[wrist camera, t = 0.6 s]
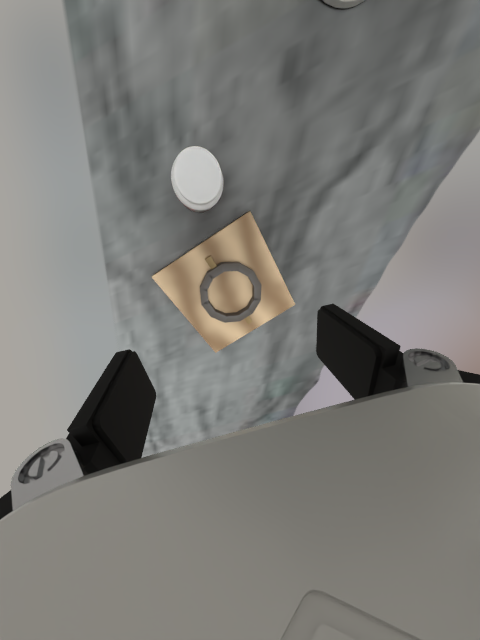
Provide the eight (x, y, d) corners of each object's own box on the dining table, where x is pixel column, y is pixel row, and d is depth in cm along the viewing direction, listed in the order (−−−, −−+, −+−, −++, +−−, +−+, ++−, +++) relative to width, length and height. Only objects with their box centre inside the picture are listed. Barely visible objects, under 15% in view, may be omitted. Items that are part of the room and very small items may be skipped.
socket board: (248, 211, 30) (252, 210, 28) (292, 302, 39) (298, 307, 37) (152, 275, 32) (149, 279, 30) (215, 349, 40) (216, 356, 38)
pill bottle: (176, 209, 29) (166, 204, 20) (176, 160, 26) (165, 130, 18) (216, 215, 30) (223, 213, 21) (220, 169, 28) (229, 145, 19)
